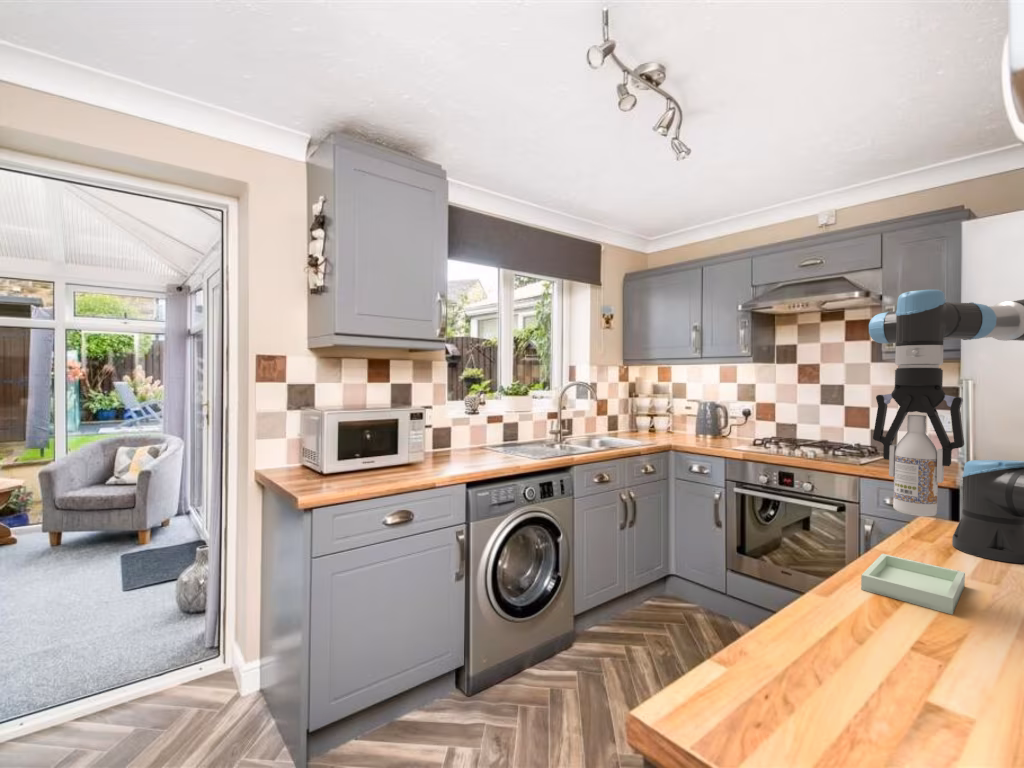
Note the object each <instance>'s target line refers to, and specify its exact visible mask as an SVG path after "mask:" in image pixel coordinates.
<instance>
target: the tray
mask: <svg viewBox="0 0 1024 768" xmlns="http://www.w3.org/2000/svg"><path fill="white" fill-rule="evenodd" d="M965 576H966V572H965V571H961V570H956V569H951V568H949V567H943V566H938V565H935V564H930V563H925V562H923V561H922V562H921V561H916V560H912V559H908V558H904V557H903V558H902V557H899V556H895V555H891V554H886V553H881V554H880V555H879V556H878V557H877V558H876V559H875V560H874V562H873V563H871V564H870V566H868V567H867V569H866V570H865V571H864V572H863V573H862V574H861V577H860V578H861V581H860V582H861V584H860V589H861V590H862V591H866V592H869V593H872V594H873V593H874V594H877V595H880V596H883V597H887V598H891V599H896V600H898V601H901V602H905V603H908V604H909V603H910V604H913V605H916V606H921V607H924V608H927V609H931V610H935V611H938V612H941V613H944V614H945V613H946V614H947V615H948V614H949V615H952V616H953V615H954V612H955V610H956V608H957V605H958V603H959V600H960V598H961V596H962V594H963V592H964V588H965V581H966V579H965V578H966V577H965Z"/></svg>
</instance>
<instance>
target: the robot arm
mask: <svg viewBox="0 0 1024 768" xmlns="http://www.w3.org/2000/svg"><path fill="white" fill-rule="evenodd" d="M868 334H869V337H870V338H871V340H873V341H874V342H875V343H877V344H888V345H889V344H891V345H893V344H895V359H894V360H895V361H894V364H895V365H896V366H898V367H896V369H895V370H894V388H893V390H892V391H891V393H887V394H886V393H885V394H877V395H876V396H875V399H876V402H877V410H876V417H875V424H874V429H873V434H872V439H873V441H876V442H879V443H881V444H882V445H883V453H882V456H883V459H884V460H887V461H888V466H889V467H888V476H889V477H891V478H892V477H893V478H894V458H895V449H896V446H897V444H893V443H894V440H895V438H896V436H897V434H898V432H899V431H900V429H901V427H902V424H903V422H904V420H905V418H906V417H907V416H908V413H914V412H917V413H922V414H926V415H927V417H928V418H929V421H930V423H931V425H932V427H933V430H934V432H935V434H936V438H937V439H938V441H939V443H940V445H941V448H937V449H936V450H937V483H938V484H942V483H943V482H944V479H945V477H944V476H945V472H944V471H945V470H944V469H945V467H950V466H951V465H952V451H953V450H956V449H960V448H963V447H964V445H965V439H964V437H965V436H964V430H963V422H962V415H961V414H962V413H961V407H962V404H963V402H964V399H963V397H960V396H952V395H948V394H946V393H945V391H944V389H943V380H944V379H943V376H944V375H943V374H944V369H942V368H941V367H940V366H942V365H944V349H945V348H944V341H949V340H950V341H951V340H963V341H971V340H979V339H984V338H986V339H987V338H992V339H994V340H998V341H1002V342H1003V341H1004V342H1005V341H1006V342H1007V341H1018V342H1019V341H1020V342H1021V341H1022V342H1023V341H1024V299H1018V300H1011V301H1010V300H1008V301H1001V302H999V303H996V304H994V305H992V306H991V305H990V306H988V305H987V304H982V303H976V302H972V301H970V302H949V301H948V302H947V299H946V294H945V292H944V291H943V290H941V289H921V290H919V289H918V290H911V291H906V292H902V293H901V294H900V295H899V296H898V298H897V304H896V310H893V311H890V310H889V311H886V312H882V313H878V314H876V315H874V316H872V318H871V319H870V321H869V323H868ZM892 399H893V400H894V402H895V403H896V404H897V405H898V406H899V407H898V409H897V412H896V415H895V417H894V419H893V421H892V422H891V424H890V426H889V428H888V431H887V433H886V435H884V430H885V425H886V419H887V413H888V405H889V404H891V401H892ZM943 401H945V402H946V405H947V407H950V409H949V410H950V418H951V419H950V420H951V426H952V436H953V441H952V442H951V441H950V440H951V439H950V438H949V435H948V434H947V431H946V430H945V427H944V425H943V422H942V420H941V419H940V416H939V412H938V410H937V409H936V408H937V407H938V406H939V405H940V404H941V403H942V402H943ZM961 477H962V505H961V506H962V511H961V512H962V514H961V519H960V520H959V522H958V524H957V527H956V528H955V530H954V533H953V535H952V538H951V539H952V541H951V542H952V543H951V544H952V546H953V548H955V549H957V550H959V551H961V552H963V553H966V554H969V555H973V556H976V557H980V558H985V559H989V560H993V561H998V562H1006V563H1014V564H1024V460H1013V459H1012V460H1011V459H1010V460H1009V459H974V460H971V459H970V460H969V461H966V462H965V463H964V466H963V473H962V476H961Z"/></svg>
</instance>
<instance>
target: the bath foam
mask: <svg viewBox="0 0 1024 768" xmlns="http://www.w3.org/2000/svg"><path fill="white" fill-rule="evenodd" d="M926 420H927V416H926V415H924V414H923V415H920V414H907V423H906V424H907V426H906V427H907V432H906V433H905V435H904V436H903V437H902V438H901V439H899V441H898V443H897V444H896V445H897V446H896V449H895V458H894V477H893V500H892V502H893V504H892V506H893V509H894V510H895V511H897V512H899V513H901V514H905V515H912V516H918V517H934V516H936V515H937V513H938V494H939V493H938V492H939V491H938V489H939V487H938V486H939V483H937V450H938V449H937V448H936V446H935V444H934V443H933V441H932V440H931V438H930V437H929V436H928V435H927V433H926V432H927V430H926V429H927V421H926Z"/></svg>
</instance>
